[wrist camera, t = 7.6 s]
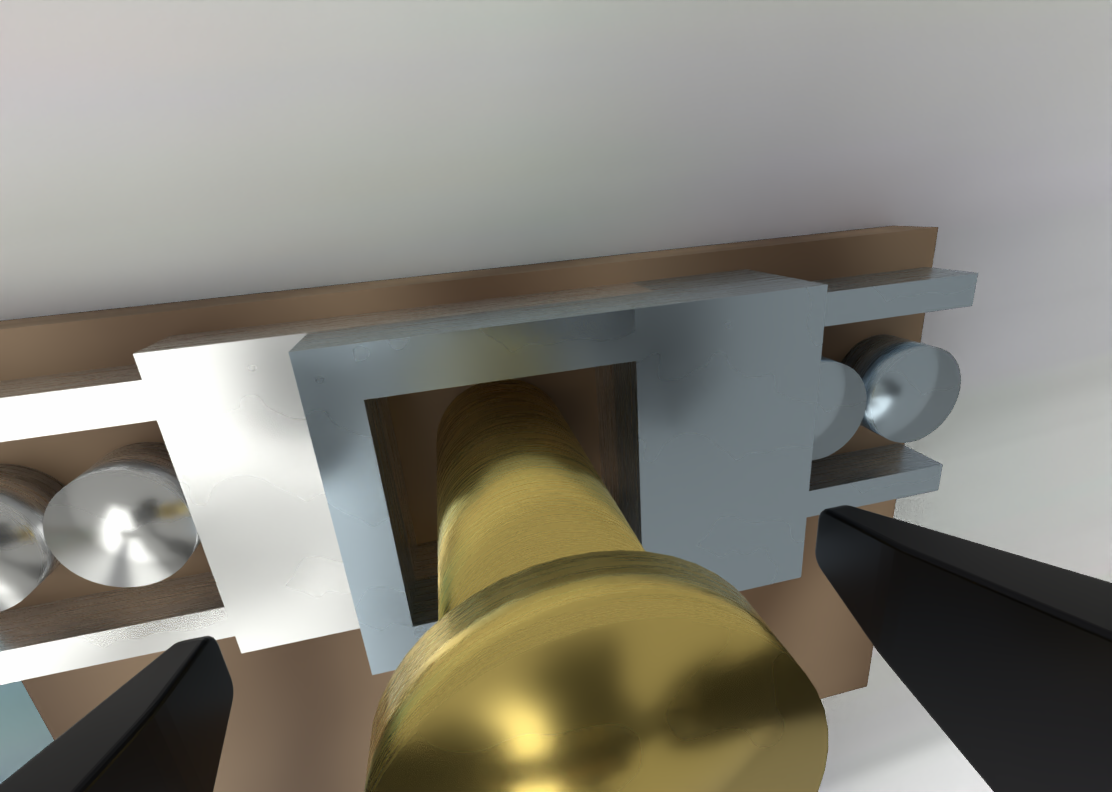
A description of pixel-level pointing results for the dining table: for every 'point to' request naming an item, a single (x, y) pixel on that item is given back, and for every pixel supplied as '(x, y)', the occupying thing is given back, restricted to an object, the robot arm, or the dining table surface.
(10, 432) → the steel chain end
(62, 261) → the dining table surface
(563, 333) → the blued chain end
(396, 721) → the pin
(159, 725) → the robot arm
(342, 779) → the board
